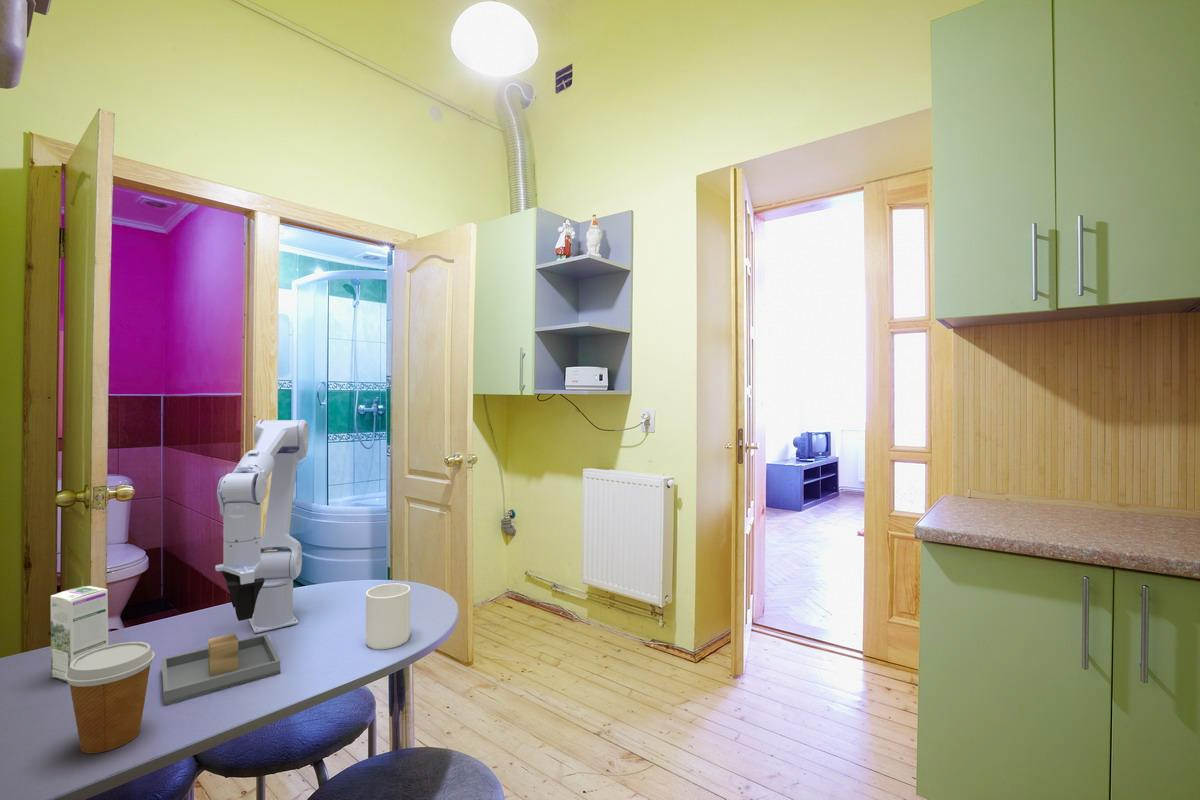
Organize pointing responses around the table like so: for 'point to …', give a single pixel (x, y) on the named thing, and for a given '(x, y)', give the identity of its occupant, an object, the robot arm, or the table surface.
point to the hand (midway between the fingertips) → (242, 612)
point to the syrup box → (77, 625)
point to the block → (222, 654)
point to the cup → (387, 615)
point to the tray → (193, 678)
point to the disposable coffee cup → (109, 694)
